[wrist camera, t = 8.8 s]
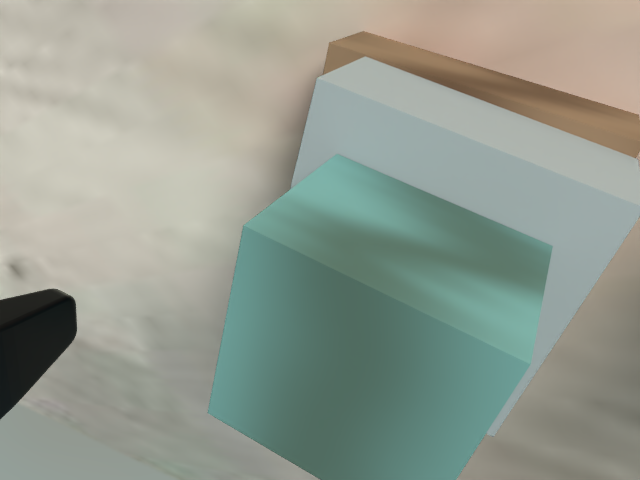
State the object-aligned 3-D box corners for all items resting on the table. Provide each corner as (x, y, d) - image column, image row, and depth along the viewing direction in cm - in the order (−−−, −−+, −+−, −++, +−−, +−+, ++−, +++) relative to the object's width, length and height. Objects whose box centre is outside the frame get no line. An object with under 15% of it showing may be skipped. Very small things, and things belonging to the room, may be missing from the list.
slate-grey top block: (637, 159, 13) (645, 207, 10) (509, 366, 17) (493, 437, 14) (365, 55, 14) (317, 77, 12) (305, 266, 18) (259, 314, 16)
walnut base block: (638, 111, 15) (644, 142, 13) (523, 330, 19) (511, 384, 17) (368, 29, 17) (329, 42, 15) (318, 243, 21) (281, 280, 19)
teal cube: (552, 245, 11) (530, 364, 8) (462, 403, 14) (418, 537, 11) (336, 153, 13) (243, 225, 9) (292, 314, 15) (207, 412, 12)
